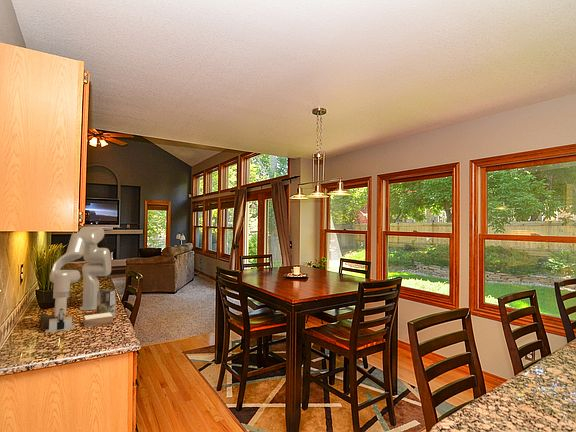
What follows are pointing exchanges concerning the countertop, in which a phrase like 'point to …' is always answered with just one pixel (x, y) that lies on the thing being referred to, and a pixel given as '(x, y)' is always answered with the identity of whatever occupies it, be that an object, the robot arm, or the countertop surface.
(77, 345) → the countertop surface
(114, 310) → the coffee box
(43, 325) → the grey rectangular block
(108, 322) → the stand
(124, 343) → the countertop surface
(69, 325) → the housing
